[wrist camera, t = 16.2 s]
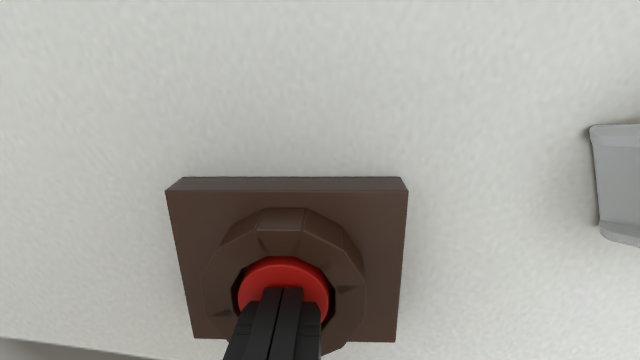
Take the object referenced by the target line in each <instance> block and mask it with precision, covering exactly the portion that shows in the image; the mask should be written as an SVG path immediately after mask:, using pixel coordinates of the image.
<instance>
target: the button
mask: <svg viewBox="0 0 640 360" xmlns="http://www.w3.org/2000/svg"><path fill="white" fill-rule="evenodd" d="M265 287H284V288H285V287H303V288H304V302H316V303H317V305H318V307H319V309H320V311H321V323H322V322H323V320H324V318H325V317H326V314H327V312H328V307H329V280H328V279H327V277H326V276H325V274H324V273H323V272H322V270H321V269H320V268H317V267H315V266H313V265H311V264H309V263H307V262H305V261H303V260H301V259H299V258H297V257H295V256H266V257H264V258H262V259H260V260H258V261H256V262H254V263H252V264H250V265H249V266H248V269H247V271H246V273H245V276H244V278H243V281H242V283H241V285H240V288H239V291H238V304H239V308H240V311H241V310H242V309H243V308H244V307H245V306H246V305H247V304H248V303H249V302H250V301H260V300H261V297H262V294H263V291H264V288H265Z"/></svg>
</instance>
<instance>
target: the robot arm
mask: <svg viewBox="0 0 640 360" xmlns="http://www.w3.org/2000/svg"><path fill="white" fill-rule="evenodd" d="M223 360H321V311H320V309H319V307H318V305H317V303H316V302H304V288H303V287H285V288H284V287H265V288H264V291H263V294H262V297H261V300H260V301H250V302H249V303H248V304H247V305H246V306H245V307H244V308H243V309H242V310H241V313H240V315H239V318H238V321H237V324H236V326H235V329H234V331H233V334H232V337H231V339H230V342H229V344H228V347H227V350H226V352H225V355H224V358H223Z"/></svg>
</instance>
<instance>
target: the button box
mask: <svg viewBox="0 0 640 360" xmlns="http://www.w3.org/2000/svg"><path fill="white" fill-rule="evenodd" d="M165 195H166V200H167V205H168V210H169V215H170V220H171V225H172V230H173V235H174V240H175V245H176V250H177V255H178V260H179V265H180V270H181V275H182V280H183V285H184V290H185V295H186V300H187V305H188V310H189V315H190V320H191V325H192V330H193V335H194V338H200V339H226V340H227V341H228V342H230V339H231V337H232V334H233V331H234V329H235V326H236V324H237V321H238V318H239V315H240V313H241V311H240V308H239V304H238V291H239V288H240V285H241V283H242V281H243V278H244V276H245V273H246V271H247V269H248V266H249V265H250V264H252V263H254V262H256V261H258V260H260V259H262V258H264V257H266V256H295V257H297V258H299V259H301V260H303V261H305V262H307V263H309V264H311V265H313V266H315V267H317V268H320V269H321V270H322V272H323V273H324V274H325V276H326V277H327V279H328V280H329V307H328V312H327V314H326V317H325V318H324V320H323V322H322V323H321V356H323V355H326V354H328V353H331V352H333V351H335V350H338V349H340V348H342V347H343V346H344V345H345V344H346V342H393V343H394V342H395V340H396V329H397V317H398V306H399V295H400V283H401V272H402V260H403V249H404V238H405V226H406V215H407V204H408V190H407V188H406V186H405V184H404V183H403V181H402V179H401V178H400V177H183V178H181V179H180V180H178V181H177V182H176V183H174V184H173V185H172V186H170V187H169V188H168V189H166V190H165Z"/></svg>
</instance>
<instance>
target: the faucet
mask: <svg viewBox="0 0 640 360" xmlns="http://www.w3.org/2000/svg"><path fill="white" fill-rule="evenodd" d="M589 132H590V140H591V142H592V144H593V154H594V164H595V174H596V184H597V194H598V204H599V214H600V221H599V229H600V234H601V235H602V236H603V237H605V238H606V239H608V240H611V241H614V242H618V243H622V244H627V245H631V246H635V247H639V248H640V124H616V125H593V126H592V127H591V128H590V130H589Z"/></svg>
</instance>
